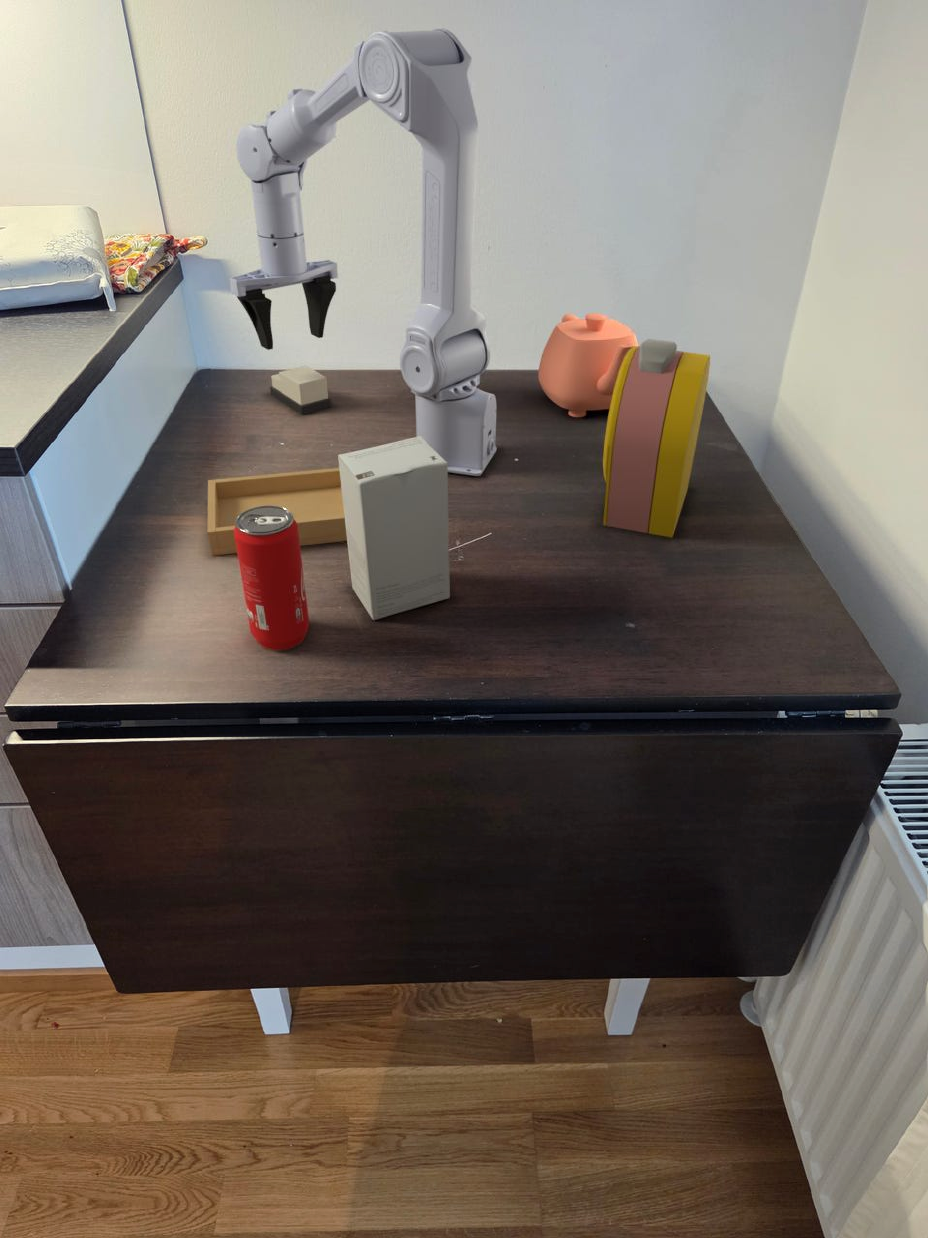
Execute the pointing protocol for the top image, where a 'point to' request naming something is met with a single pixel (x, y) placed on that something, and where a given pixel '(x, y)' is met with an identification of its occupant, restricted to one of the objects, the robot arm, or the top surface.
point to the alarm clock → (652, 436)
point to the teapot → (584, 362)
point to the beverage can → (272, 576)
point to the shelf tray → (299, 492)
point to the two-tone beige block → (301, 389)
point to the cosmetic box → (396, 525)
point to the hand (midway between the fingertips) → (292, 341)
